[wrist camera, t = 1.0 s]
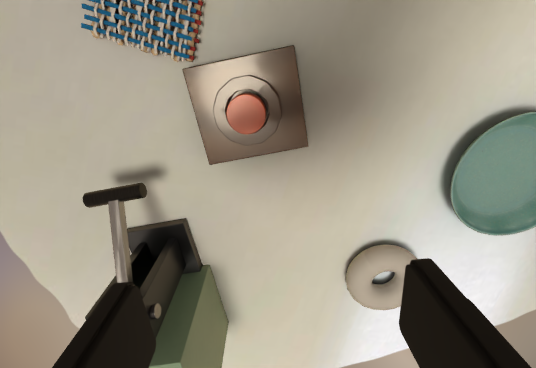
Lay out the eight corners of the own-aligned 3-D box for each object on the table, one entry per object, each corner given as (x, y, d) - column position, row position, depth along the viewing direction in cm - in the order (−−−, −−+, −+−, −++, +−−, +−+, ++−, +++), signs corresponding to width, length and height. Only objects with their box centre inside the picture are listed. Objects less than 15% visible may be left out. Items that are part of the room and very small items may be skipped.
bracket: (126, 228, 37) (59, 305, 25) (185, 218, 36) (145, 291, 24) (148, 276, 40) (97, 365, 28) (203, 267, 39) (175, 354, 27)
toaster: (140, 275, 39) (78, 377, 26) (209, 264, 39) (179, 363, 26) (165, 331, 44) (122, 442, 31) (228, 322, 43) (211, 432, 30)
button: (225, 96, 27) (221, 98, 25) (261, 89, 27) (261, 90, 25) (233, 133, 28) (231, 137, 26) (269, 126, 28) (269, 130, 26)
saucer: (575, 191, 35) (598, 200, 32) (456, 242, 37) (470, 254, 35) (556, 81, 30) (582, 82, 27) (421, 149, 33) (434, 155, 30)
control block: (187, 69, 29) (176, 69, 26) (292, 46, 28) (295, 43, 25) (213, 159, 33) (206, 170, 29) (305, 141, 32) (310, 151, 28)
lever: (95, 193, 30) (78, 192, 28) (148, 183, 30) (135, 181, 28) (109, 329, 29) (93, 339, 26) (165, 320, 28) (153, 330, 26)
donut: (382, 306, 42) (431, 260, 39) (391, 326, 39) (445, 278, 35) (328, 277, 40) (375, 226, 36) (333, 296, 37) (385, 242, 33)
